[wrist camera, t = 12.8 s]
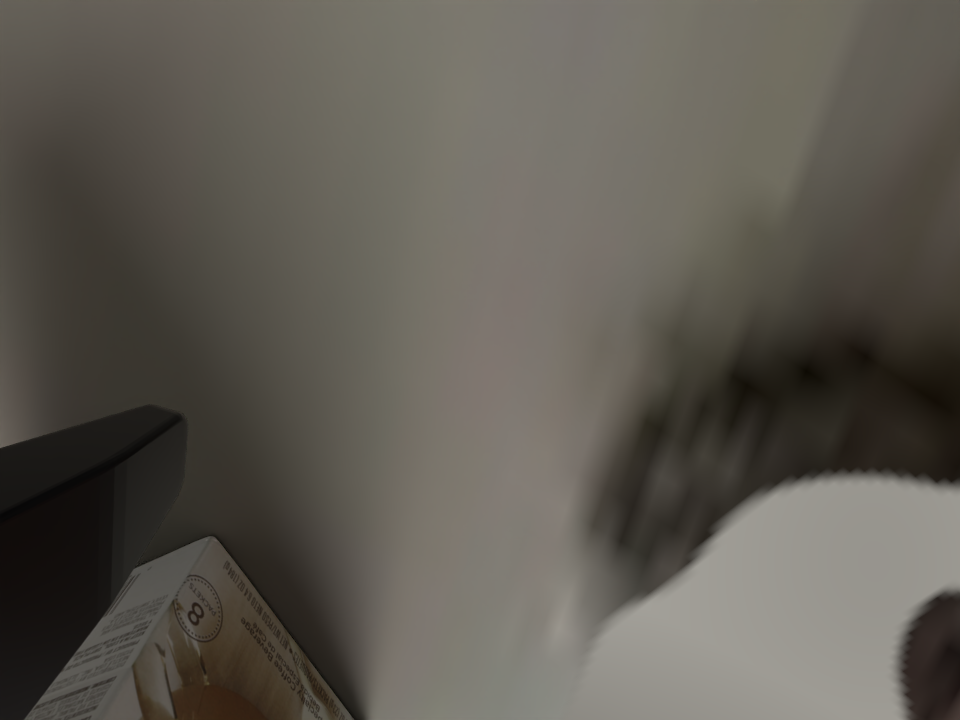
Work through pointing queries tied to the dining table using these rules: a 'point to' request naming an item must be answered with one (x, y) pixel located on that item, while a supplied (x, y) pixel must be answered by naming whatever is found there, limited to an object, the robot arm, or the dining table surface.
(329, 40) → the dining table surface
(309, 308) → the dining table surface
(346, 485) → the dining table surface
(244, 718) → the coffee box
